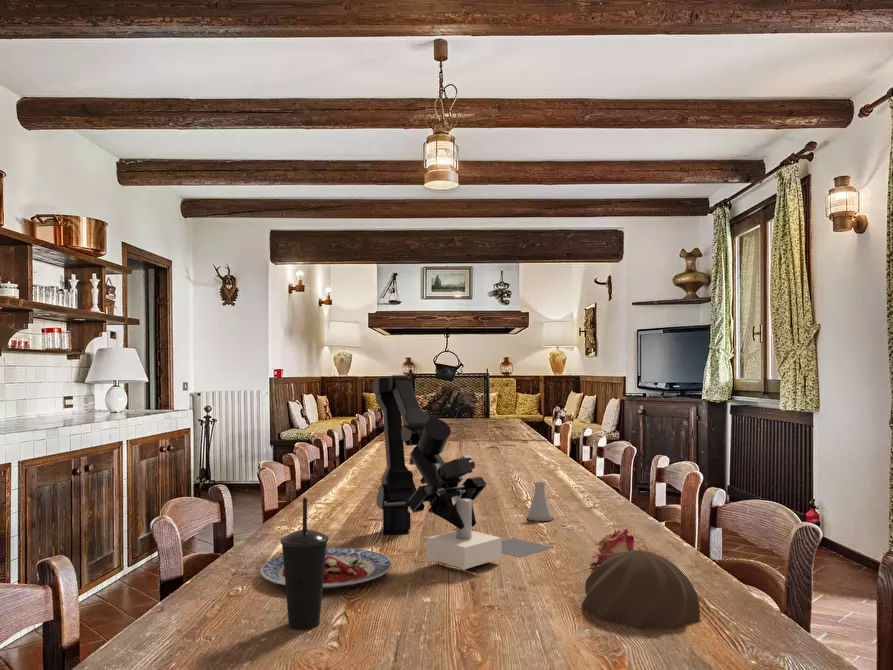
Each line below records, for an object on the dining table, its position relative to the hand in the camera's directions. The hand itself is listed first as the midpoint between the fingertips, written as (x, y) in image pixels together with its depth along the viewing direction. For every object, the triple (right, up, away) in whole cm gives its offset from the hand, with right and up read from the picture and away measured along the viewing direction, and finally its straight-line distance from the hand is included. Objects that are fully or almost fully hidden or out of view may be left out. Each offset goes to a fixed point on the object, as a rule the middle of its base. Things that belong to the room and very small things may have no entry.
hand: (468, 526), depth 140 cm
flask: (+21, -11, +44) cm, 50 cm away
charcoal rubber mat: (+11, -9, +13) cm, 20 cm away
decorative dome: (+29, -7, -25) cm, 38 cm away
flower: (+30, -8, -1) cm, 31 cm away
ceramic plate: (-28, -8, -6) cm, 30 cm away
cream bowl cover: (-1, -7, +1) cm, 7 cm away
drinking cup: (-27, -7, -32) cm, 43 cm away
